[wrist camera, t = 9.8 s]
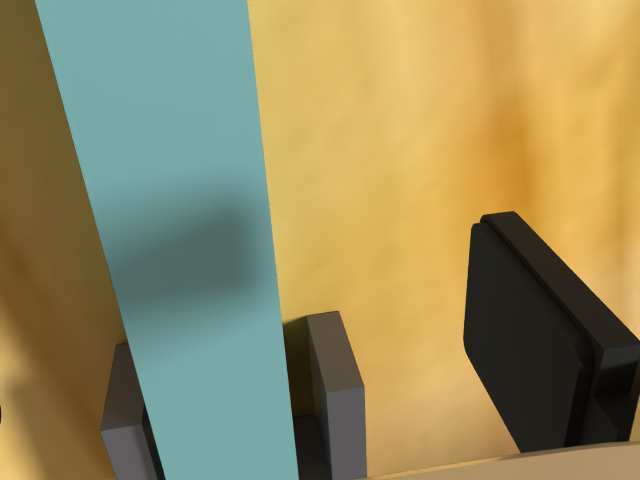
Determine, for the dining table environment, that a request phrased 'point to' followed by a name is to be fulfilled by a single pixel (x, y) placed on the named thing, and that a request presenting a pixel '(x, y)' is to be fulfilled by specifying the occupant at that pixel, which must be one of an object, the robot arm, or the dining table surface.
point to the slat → (183, 221)
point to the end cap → (309, 431)
